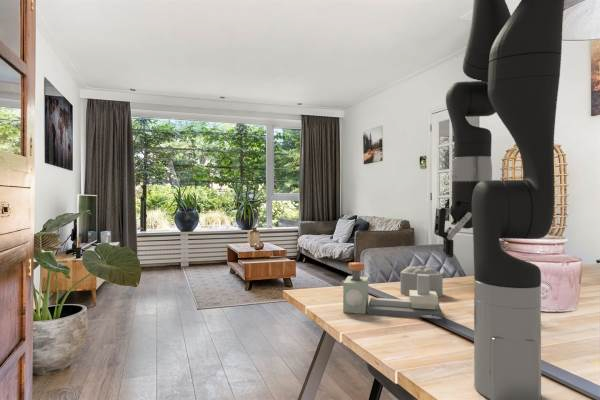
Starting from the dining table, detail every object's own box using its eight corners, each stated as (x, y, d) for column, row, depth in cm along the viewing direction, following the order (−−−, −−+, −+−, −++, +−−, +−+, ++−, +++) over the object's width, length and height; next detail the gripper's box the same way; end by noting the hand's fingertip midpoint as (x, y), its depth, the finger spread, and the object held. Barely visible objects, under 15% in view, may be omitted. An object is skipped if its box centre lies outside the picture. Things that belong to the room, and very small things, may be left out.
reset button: (363, 288, 105) (363, 265, 105) (347, 288, 106) (347, 264, 106) (364, 285, 109) (365, 262, 109) (349, 284, 110) (349, 262, 110)
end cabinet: (365, 314, 101) (365, 284, 101) (343, 312, 103) (343, 282, 103) (368, 304, 111) (368, 277, 111) (348, 302, 113) (348, 275, 113)
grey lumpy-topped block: (403, 288, 133) (403, 263, 133) (443, 292, 128) (443, 266, 128) (399, 295, 123) (399, 268, 123) (441, 299, 118) (441, 271, 118)
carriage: (438, 310, 98) (438, 278, 98) (410, 308, 100) (410, 276, 100) (435, 304, 105) (435, 273, 105) (409, 302, 107) (409, 272, 107)
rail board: (442, 319, 97) (442, 308, 97) (367, 313, 101) (367, 302, 101) (438, 309, 106) (438, 298, 106) (370, 304, 111) (370, 294, 111)
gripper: (444, 179, 75) (442, 260, 76) (516, 179, 75) (513, 260, 76) (430, 179, 82) (429, 253, 83) (496, 179, 82) (494, 253, 83)
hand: (469, 256), depth 79 cm, fingers open, 8 cm apart
